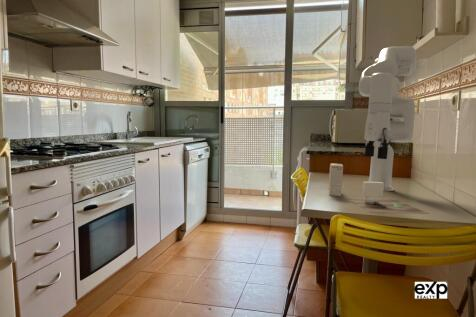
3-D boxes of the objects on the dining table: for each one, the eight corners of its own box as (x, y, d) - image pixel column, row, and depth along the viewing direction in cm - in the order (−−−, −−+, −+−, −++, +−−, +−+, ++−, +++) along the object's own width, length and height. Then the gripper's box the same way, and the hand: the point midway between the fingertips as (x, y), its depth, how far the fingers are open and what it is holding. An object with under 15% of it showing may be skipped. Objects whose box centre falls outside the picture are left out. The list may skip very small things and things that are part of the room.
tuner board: (342, 199, 140) (342, 196, 140) (391, 200, 142) (391, 197, 142) (370, 216, 116) (370, 212, 116) (429, 217, 118) (429, 213, 118)
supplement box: (341, 199, 142) (343, 165, 140) (328, 198, 143) (331, 165, 141) (339, 195, 150) (342, 163, 148) (327, 194, 151) (330, 162, 149)
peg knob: (359, 200, 133) (361, 180, 132) (377, 201, 134) (379, 181, 133) (374, 208, 121) (376, 186, 120) (394, 209, 122) (396, 187, 121)
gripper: (358, 109, 136) (355, 155, 137) (381, 107, 118) (376, 159, 120) (378, 110, 136) (374, 155, 138) (403, 108, 119) (398, 160, 121)
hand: (375, 157), depth 129 cm, fingers open, 9 cm apart
